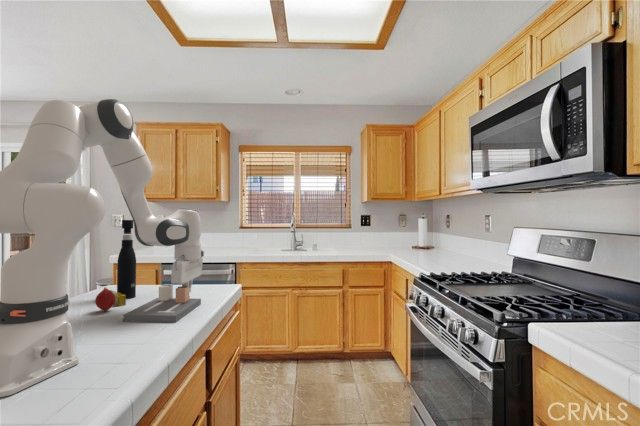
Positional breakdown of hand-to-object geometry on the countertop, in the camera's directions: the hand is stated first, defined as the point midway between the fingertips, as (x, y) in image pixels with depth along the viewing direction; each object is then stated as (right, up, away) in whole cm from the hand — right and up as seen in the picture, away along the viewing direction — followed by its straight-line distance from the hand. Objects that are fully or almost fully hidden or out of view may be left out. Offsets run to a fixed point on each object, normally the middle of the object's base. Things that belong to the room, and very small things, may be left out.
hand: (187, 292), depth 128 cm
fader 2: (0, -2, -4) cm, 5 cm away
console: (-4, -4, -9) cm, 11 cm away
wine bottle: (-28, -4, +11) cm, 30 cm away
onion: (-24, -4, -9) cm, 26 cm away
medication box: (-27, -5, +2) cm, 27 cm away
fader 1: (-7, -2, -1) cm, 8 cm away
